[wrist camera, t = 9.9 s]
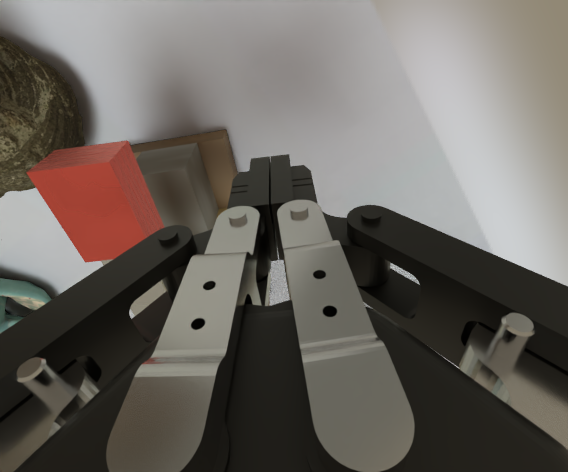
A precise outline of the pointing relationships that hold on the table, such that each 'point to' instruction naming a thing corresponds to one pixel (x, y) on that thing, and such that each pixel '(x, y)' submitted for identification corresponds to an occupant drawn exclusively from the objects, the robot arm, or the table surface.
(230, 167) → the valve plinth
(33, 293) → the stuffed animal
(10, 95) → the seashell
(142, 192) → the valve lever
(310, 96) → the table surface
